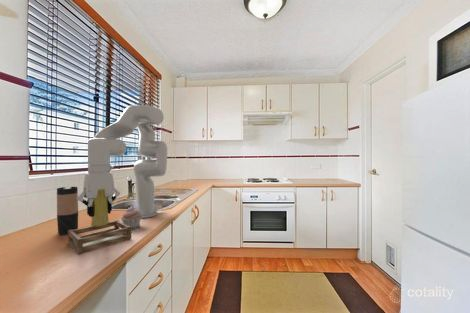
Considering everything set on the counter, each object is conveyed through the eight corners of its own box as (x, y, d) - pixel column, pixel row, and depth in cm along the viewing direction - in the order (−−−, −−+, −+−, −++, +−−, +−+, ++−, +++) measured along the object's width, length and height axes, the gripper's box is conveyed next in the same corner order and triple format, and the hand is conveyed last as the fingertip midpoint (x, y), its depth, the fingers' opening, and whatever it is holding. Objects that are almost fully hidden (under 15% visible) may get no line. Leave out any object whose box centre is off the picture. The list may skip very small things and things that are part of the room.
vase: (89, 227, 85) (89, 190, 85) (92, 223, 91) (92, 188, 91) (107, 225, 88) (107, 189, 88) (109, 221, 94) (109, 187, 93)
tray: (117, 231, 101) (117, 219, 101) (131, 239, 92) (131, 226, 92) (68, 243, 88) (67, 230, 88) (78, 254, 78) (77, 239, 78)
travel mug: (67, 235, 96) (66, 189, 96) (52, 234, 98) (51, 188, 97) (82, 229, 104) (82, 186, 103) (69, 228, 105) (68, 186, 105)
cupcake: (144, 228, 105) (143, 207, 105) (121, 231, 101) (121, 209, 100) (141, 223, 113) (140, 203, 113) (120, 226, 109) (120, 205, 108)
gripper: (118, 168, 98) (118, 209, 98) (70, 170, 85) (71, 217, 86) (125, 168, 93) (125, 212, 93) (76, 171, 80) (76, 221, 81)
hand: (99, 214), depth 89 cm, fingers closed on vase, 5 cm apart
